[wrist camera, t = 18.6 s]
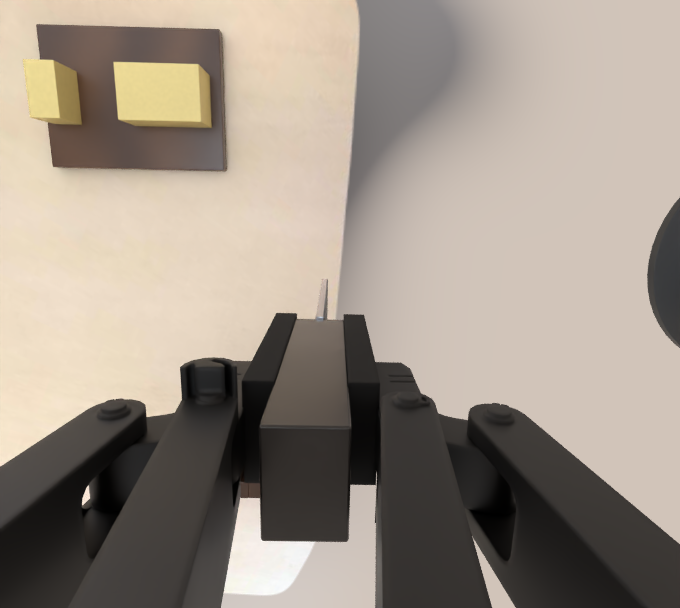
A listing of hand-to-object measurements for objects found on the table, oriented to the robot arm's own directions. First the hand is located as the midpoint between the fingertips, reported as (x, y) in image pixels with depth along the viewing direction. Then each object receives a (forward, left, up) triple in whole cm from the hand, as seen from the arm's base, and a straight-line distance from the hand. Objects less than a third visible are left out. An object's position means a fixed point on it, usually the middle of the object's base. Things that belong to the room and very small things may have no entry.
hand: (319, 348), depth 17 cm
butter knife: (0, 0, -8) cm, 8 cm away
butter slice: (+24, -14, -28) cm, 40 cm away
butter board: (+18, -14, -29) cm, 37 cm away
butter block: (+14, -14, -28) cm, 35 cm away
